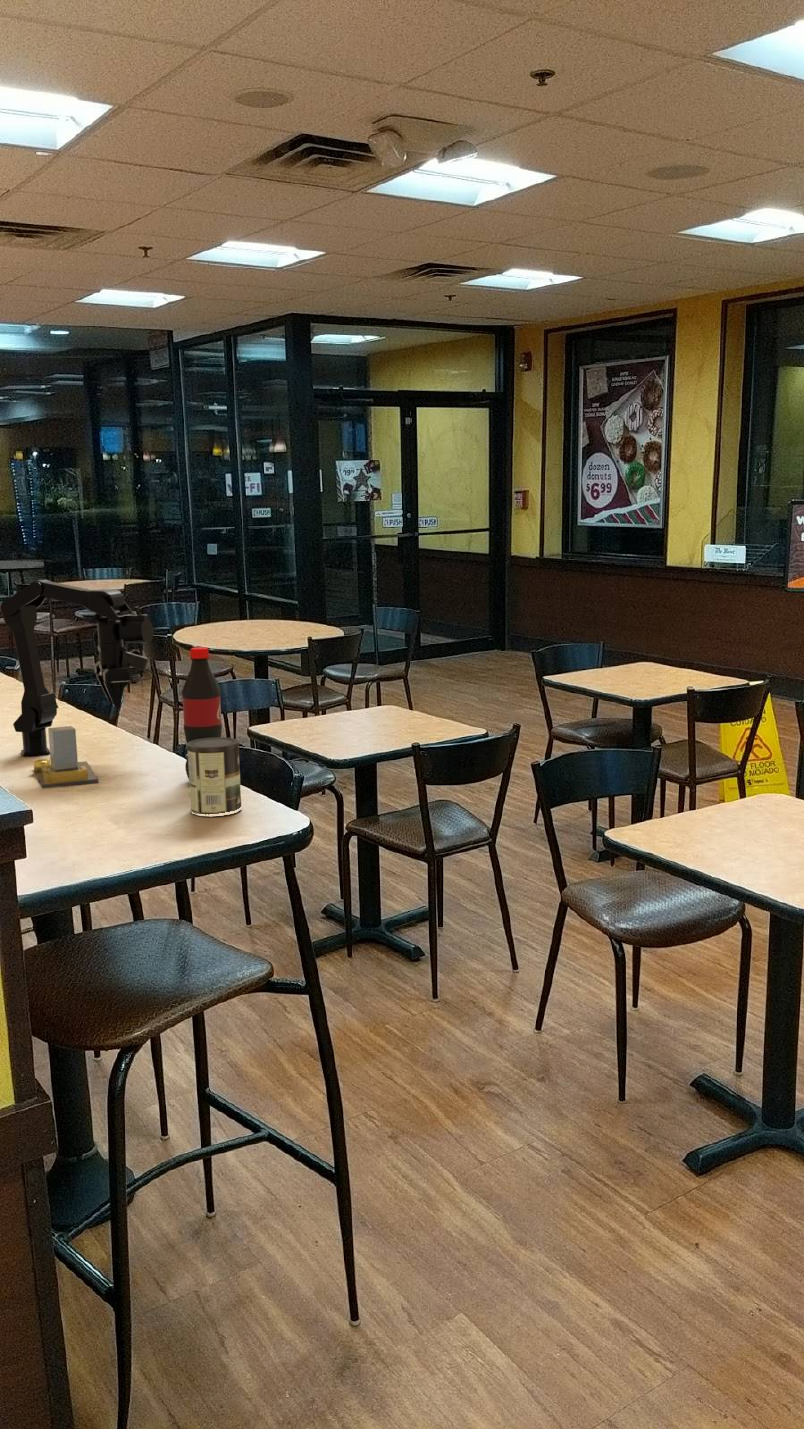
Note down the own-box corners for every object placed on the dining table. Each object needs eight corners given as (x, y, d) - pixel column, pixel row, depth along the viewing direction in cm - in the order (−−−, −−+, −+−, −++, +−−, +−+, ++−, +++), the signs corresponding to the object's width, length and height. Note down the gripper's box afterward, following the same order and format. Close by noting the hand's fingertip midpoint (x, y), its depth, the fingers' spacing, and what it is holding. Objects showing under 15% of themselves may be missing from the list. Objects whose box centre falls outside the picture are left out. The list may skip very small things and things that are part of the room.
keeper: (32, 769, 256) (31, 758, 255) (86, 764, 260) (85, 753, 260) (40, 788, 237) (40, 776, 237) (98, 782, 242) (97, 770, 242)
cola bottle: (228, 776, 246) (223, 645, 241) (218, 785, 238) (212, 649, 233) (192, 776, 247) (186, 645, 242) (181, 785, 239) (174, 649, 234)
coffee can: (231, 801, 225) (228, 734, 222) (249, 813, 216) (246, 743, 213) (182, 808, 220) (179, 740, 217) (199, 820, 211) (196, 749, 208)
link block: (51, 775, 246) (48, 728, 244) (74, 773, 248) (70, 725, 246) (55, 779, 242) (52, 731, 240) (78, 777, 244) (75, 729, 242)
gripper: (151, 644, 257) (155, 709, 259) (137, 636, 274) (141, 697, 276) (103, 647, 252) (107, 713, 255) (92, 639, 269) (96, 701, 272)
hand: (114, 706), depth 265 cm, fingers open, 9 cm apart
